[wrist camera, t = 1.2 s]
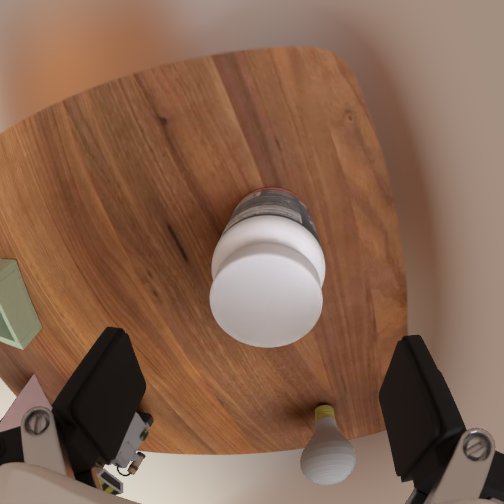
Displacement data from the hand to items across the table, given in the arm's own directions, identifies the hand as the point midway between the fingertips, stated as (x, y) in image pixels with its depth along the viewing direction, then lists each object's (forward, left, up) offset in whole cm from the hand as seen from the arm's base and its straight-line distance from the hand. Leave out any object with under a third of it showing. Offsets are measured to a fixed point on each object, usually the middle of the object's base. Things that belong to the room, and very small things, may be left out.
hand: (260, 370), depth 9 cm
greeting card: (+30, -40, -13) cm, 51 cm away
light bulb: (+21, +6, -13) cm, 25 cm away
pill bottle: (0, 0, -13) cm, 13 cm away
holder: (+8, -37, -13) cm, 40 cm away
